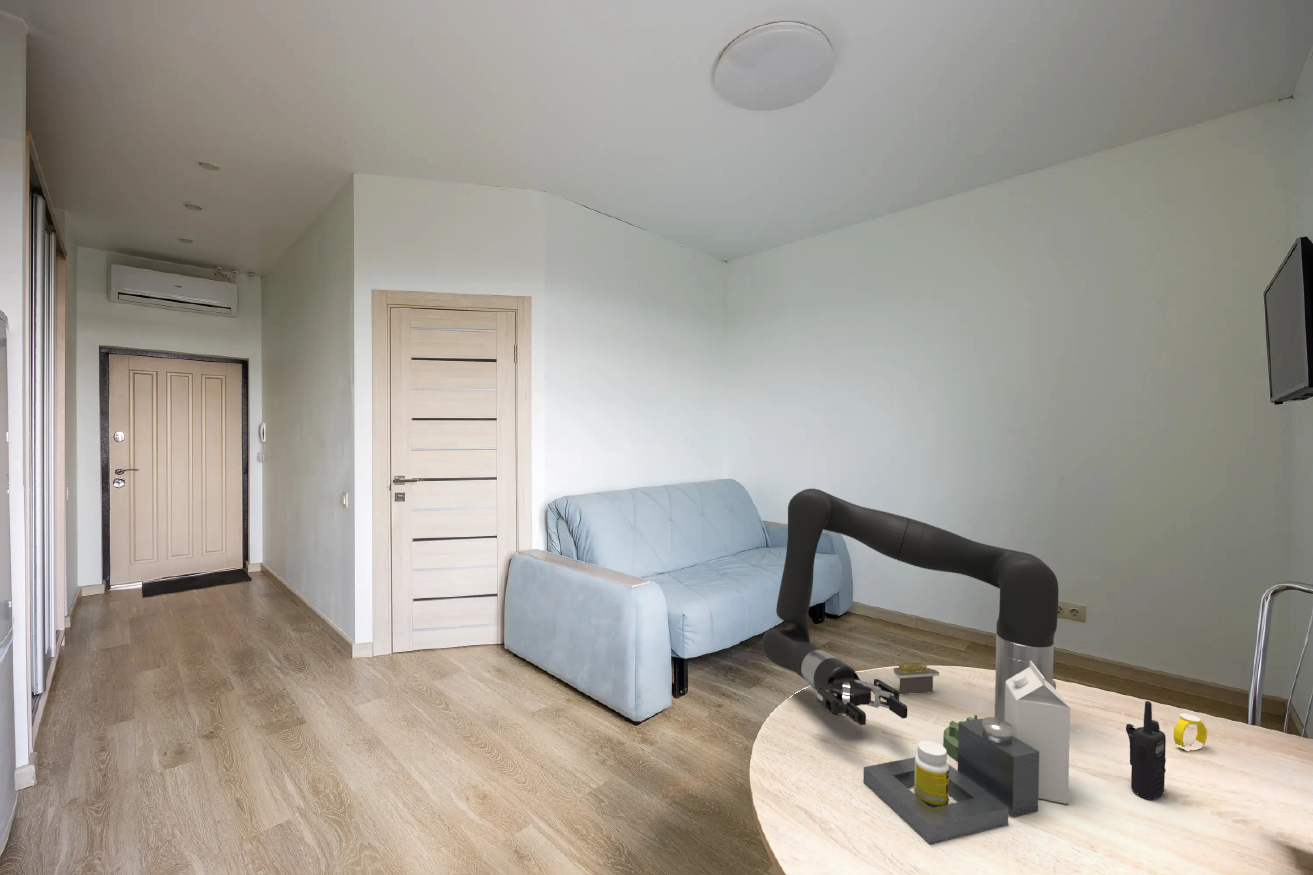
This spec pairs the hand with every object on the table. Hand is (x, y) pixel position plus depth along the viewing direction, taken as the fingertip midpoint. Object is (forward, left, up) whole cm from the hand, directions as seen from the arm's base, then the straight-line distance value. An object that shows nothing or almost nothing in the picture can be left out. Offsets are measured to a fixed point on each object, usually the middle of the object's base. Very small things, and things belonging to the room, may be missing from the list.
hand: (885, 716), depth 95 cm
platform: (-24, -20, -9) cm, 33 cm away
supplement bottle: (0, +10, -8) cm, 13 cm away
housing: (-3, +11, -8) cm, 14 cm away
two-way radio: (-35, +18, -8) cm, 40 cm away
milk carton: (-19, +12, -8) cm, 24 cm away
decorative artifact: (-17, +2, -8) cm, 20 cm away
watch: (-57, +12, -8) cm, 59 cm away
